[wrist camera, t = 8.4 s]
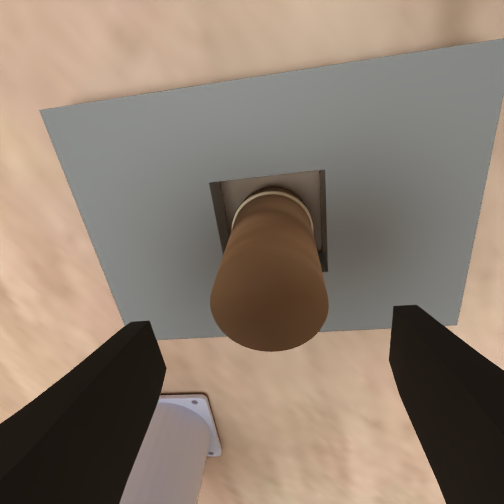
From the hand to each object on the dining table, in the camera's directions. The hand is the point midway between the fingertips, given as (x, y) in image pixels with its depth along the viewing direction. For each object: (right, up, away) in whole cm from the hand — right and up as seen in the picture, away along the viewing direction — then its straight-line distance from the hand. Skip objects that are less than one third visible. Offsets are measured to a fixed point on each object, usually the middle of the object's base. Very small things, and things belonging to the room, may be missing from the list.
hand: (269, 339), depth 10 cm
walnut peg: (+1, +5, +9) cm, 10 cm away
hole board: (+1, +5, +9) cm, 10 cm away
